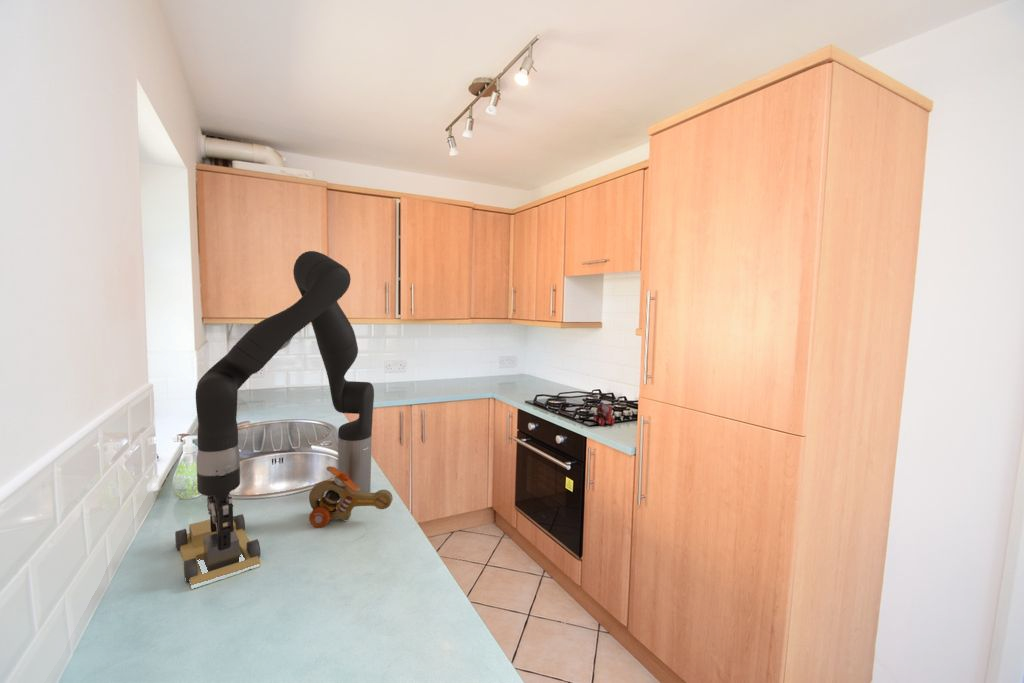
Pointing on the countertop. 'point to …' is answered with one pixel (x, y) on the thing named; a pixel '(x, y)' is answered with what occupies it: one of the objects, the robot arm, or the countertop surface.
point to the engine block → (220, 552)
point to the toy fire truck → (604, 414)
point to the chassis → (194, 550)
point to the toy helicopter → (341, 499)
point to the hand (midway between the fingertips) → (220, 539)
